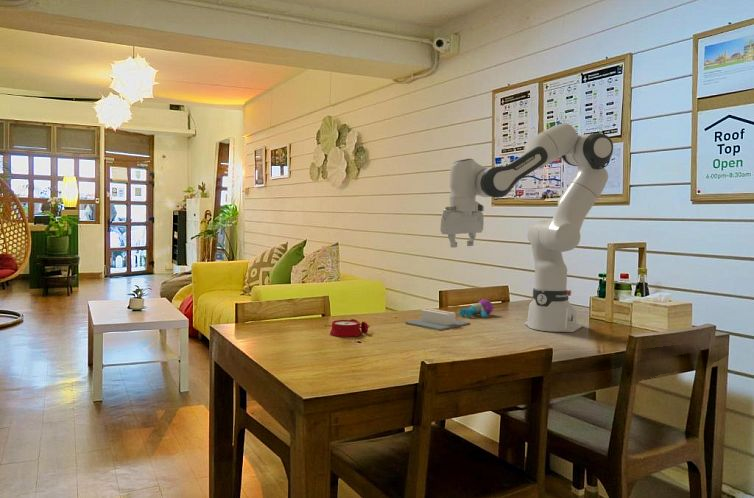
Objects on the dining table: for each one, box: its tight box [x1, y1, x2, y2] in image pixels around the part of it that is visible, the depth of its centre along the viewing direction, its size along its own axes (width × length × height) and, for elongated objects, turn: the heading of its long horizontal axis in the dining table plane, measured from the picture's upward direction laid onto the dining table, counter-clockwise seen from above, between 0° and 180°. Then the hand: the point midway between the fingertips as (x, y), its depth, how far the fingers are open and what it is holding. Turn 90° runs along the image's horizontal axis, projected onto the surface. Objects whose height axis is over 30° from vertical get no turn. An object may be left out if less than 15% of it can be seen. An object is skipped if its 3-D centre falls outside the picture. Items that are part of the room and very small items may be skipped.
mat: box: [404, 318, 471, 331], centre depth 218 cm, size 18×16×1 cm
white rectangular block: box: [420, 308, 456, 326], centre depth 218 cm, size 12×5×4 cm, turn 46°
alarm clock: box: [324, 318, 371, 338], centre depth 198 cm, size 10×6×15 cm
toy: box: [459, 299, 496, 319], centre depth 237 cm, size 12×7×15 cm
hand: (462, 246), depth 205 cm, fingers open, 8 cm apart
